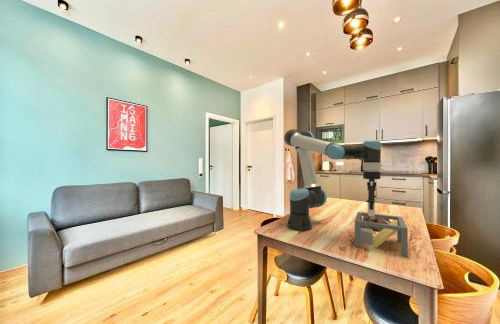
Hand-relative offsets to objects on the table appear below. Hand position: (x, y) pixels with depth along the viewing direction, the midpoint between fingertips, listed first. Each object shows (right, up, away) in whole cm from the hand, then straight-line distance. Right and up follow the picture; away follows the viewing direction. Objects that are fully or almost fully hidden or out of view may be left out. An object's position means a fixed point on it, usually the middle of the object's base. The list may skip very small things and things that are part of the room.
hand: (371, 212), depth 99 cm
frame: (+3, -15, -2) cm, 15 cm away
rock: (+15, -15, +19) cm, 29 cm away
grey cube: (0, -12, 0) cm, 12 cm away
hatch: (+5, -9, -3) cm, 11 cm away
